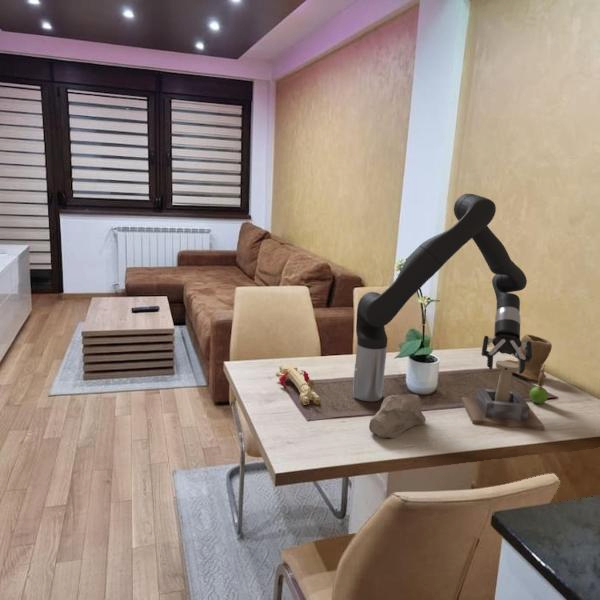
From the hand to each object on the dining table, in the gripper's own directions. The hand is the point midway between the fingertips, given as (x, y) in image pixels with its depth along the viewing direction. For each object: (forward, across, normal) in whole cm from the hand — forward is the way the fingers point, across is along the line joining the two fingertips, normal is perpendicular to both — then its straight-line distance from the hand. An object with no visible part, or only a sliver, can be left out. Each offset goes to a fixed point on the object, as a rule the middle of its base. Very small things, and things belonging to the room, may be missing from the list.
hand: (505, 370), depth 158 cm
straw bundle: (+16, -63, +4) cm, 65 cm away
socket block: (+11, 0, +7) cm, 13 cm away
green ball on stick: (+1, +13, +18) cm, 22 cm away
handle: (+11, 0, +7) cm, 12 cm away
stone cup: (-16, +12, +36) cm, 41 cm away
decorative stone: (+26, -29, -7) cm, 40 cm away
